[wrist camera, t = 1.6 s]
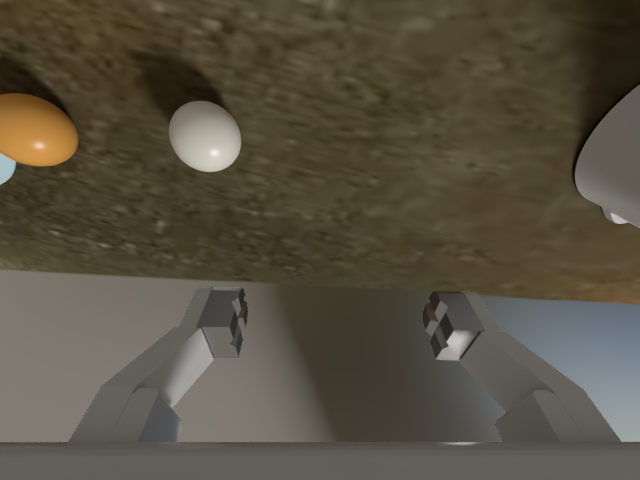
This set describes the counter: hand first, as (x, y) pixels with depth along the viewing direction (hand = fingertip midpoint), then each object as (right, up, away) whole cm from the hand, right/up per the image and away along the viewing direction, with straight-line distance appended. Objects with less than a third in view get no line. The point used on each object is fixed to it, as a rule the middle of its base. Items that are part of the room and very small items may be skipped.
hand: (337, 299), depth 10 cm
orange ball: (-24, +11, +12) cm, 29 cm away
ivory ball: (-10, +11, +13) cm, 19 cm away
